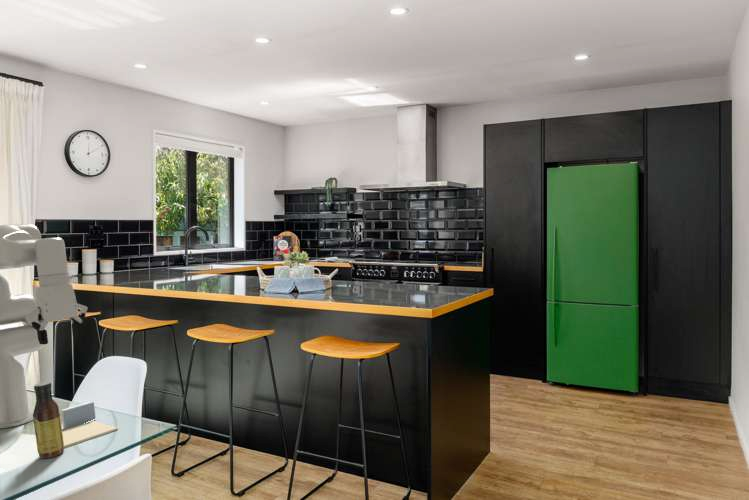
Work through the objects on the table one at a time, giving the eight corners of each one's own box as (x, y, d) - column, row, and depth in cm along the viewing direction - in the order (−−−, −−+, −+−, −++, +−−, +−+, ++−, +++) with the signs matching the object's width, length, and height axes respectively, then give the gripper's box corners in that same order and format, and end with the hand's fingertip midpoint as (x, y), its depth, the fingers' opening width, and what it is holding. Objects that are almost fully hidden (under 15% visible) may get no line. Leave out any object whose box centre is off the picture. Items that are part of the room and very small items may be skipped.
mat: (39, 439, 169) (39, 437, 169) (93, 422, 181) (93, 420, 181) (62, 448, 158) (61, 446, 158) (117, 429, 171) (117, 427, 171)
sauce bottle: (46, 451, 157) (37, 381, 156) (69, 449, 157) (60, 378, 157) (33, 461, 151) (24, 387, 150) (57, 458, 151) (48, 385, 150)
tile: (63, 428, 178) (61, 409, 178) (92, 419, 185) (90, 401, 185) (66, 429, 176) (64, 410, 176) (95, 420, 183) (93, 402, 183)
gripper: (75, 278, 171) (82, 334, 171) (15, 285, 156) (22, 346, 157) (90, 277, 167) (96, 334, 168) (29, 284, 152) (37, 347, 153)
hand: (61, 340), depth 162 cm, fingers open, 9 cm apart
